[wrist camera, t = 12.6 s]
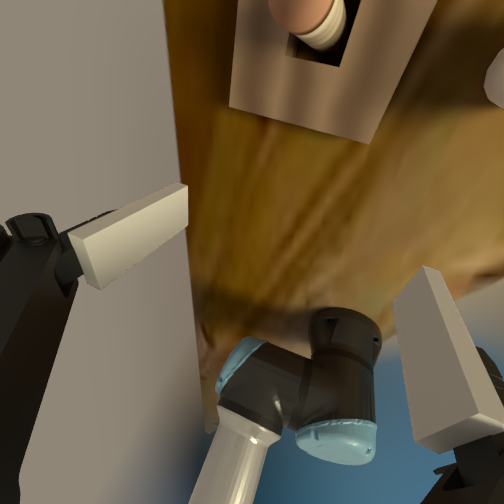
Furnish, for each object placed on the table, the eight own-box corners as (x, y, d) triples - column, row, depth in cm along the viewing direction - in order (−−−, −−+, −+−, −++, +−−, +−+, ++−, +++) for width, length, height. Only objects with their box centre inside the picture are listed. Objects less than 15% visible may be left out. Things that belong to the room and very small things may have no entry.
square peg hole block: (478, -103, 18) (508, -151, 15) (368, 137, 30) (369, 144, 26) (271, -117, 22) (252, -159, 18) (243, 104, 33) (228, 106, 29)
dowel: (355, 7, 24) (347, -70, 12) (339, 57, 27) (319, 35, 15) (317, 1, 25) (275, -77, 13) (305, 50, 27) (261, 24, 15)
